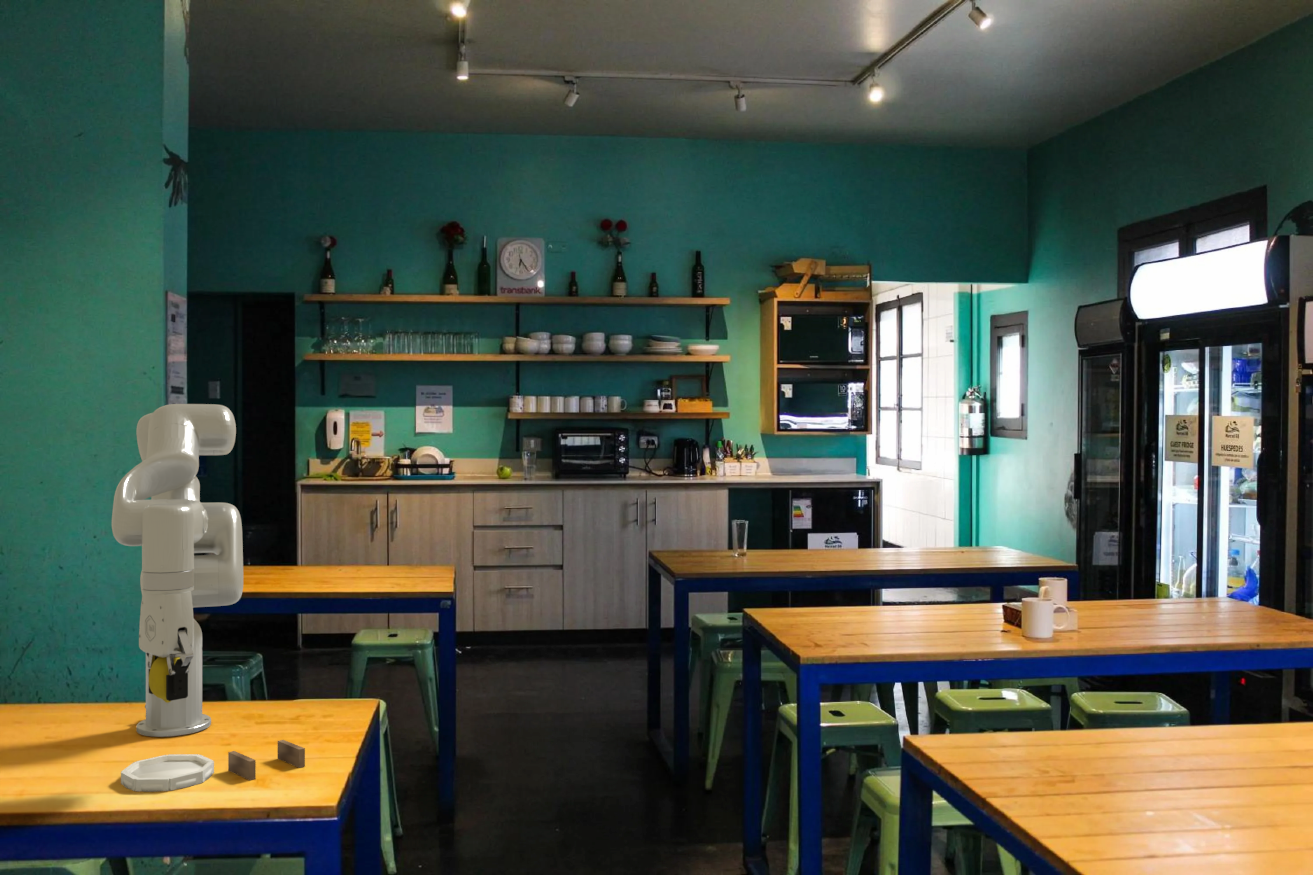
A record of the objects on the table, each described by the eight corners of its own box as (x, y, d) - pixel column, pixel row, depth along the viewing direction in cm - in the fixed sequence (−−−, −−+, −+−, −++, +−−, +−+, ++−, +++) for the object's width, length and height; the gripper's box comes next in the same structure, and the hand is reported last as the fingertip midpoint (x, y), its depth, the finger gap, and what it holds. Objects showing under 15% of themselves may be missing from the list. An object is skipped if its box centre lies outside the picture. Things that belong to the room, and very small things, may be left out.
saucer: (109, 778, 174) (108, 766, 174) (189, 759, 184) (190, 748, 184) (143, 797, 165) (143, 785, 165) (227, 777, 175) (227, 765, 175)
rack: (228, 770, 178) (228, 752, 178) (283, 757, 185) (283, 739, 185) (249, 780, 173) (249, 761, 173) (304, 766, 180) (304, 748, 180)
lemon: (172, 707, 171) (172, 656, 171) (140, 705, 172) (140, 654, 172) (194, 699, 176) (194, 649, 176) (163, 697, 177) (163, 648, 177)
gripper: (121, 578, 177) (121, 690, 177) (168, 589, 165) (168, 709, 165) (168, 574, 182) (167, 683, 183) (216, 584, 171) (216, 700, 171)
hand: (168, 694), depth 174 cm, fingers closed on lemon, 5 cm apart
